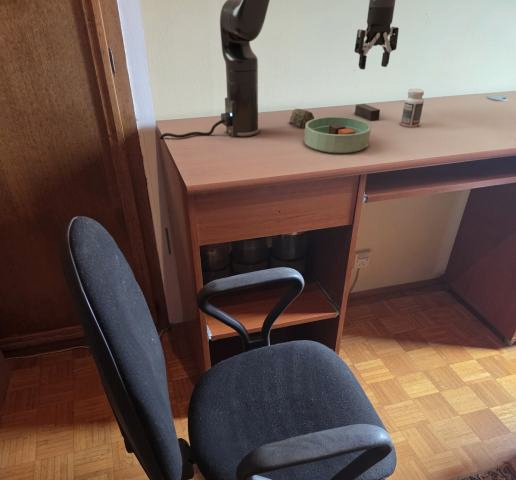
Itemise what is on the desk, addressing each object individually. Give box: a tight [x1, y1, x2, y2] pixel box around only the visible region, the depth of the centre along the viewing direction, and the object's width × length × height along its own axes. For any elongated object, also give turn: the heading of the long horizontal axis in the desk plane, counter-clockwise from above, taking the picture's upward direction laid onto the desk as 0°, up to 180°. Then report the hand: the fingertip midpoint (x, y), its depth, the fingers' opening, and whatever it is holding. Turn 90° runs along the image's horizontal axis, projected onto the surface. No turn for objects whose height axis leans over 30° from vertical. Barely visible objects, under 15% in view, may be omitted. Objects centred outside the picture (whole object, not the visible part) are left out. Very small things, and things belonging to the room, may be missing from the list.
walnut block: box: [328, 124, 346, 135], centre depth 132 cm, size 4×4×4 cm
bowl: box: [303, 116, 372, 154], centre depth 130 cm, size 19×19×5 cm
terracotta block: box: [338, 128, 356, 135], centre depth 129 cm, size 4×4×4 cm
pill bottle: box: [400, 88, 425, 128], centre depth 142 cm, size 6×6×10 cm
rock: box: [289, 108, 315, 129], centre depth 145 cm, size 7×8×4 cm
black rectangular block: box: [354, 103, 381, 121], centre depth 152 cm, size 9×4×3 cm, turn 25°
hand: (373, 67), depth 144 cm, fingers open, 8 cm apart
